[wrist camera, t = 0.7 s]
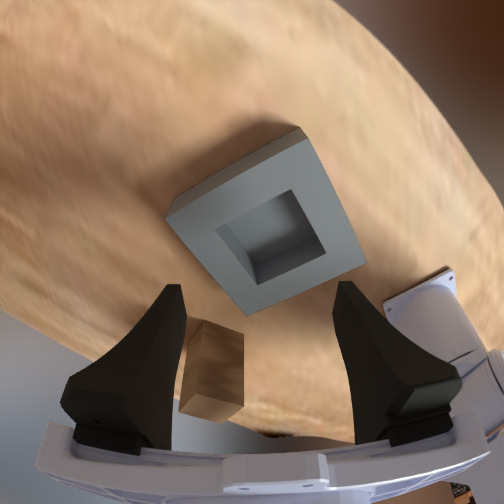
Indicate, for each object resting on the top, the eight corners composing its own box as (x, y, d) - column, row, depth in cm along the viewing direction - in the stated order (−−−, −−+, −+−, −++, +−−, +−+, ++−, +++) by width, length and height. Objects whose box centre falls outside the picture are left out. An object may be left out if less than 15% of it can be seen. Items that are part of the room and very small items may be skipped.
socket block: (355, 239, 24) (366, 262, 22) (246, 290, 27) (246, 316, 24) (299, 127, 19) (308, 137, 17) (173, 198, 22) (164, 219, 19)
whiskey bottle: (476, 439, 69) (497, 515, 42) (459, 451, 74) (477, 523, 48) (456, 446, 68) (477, 527, 41) (439, 457, 73) (457, 534, 47)
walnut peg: (243, 334, 30) (243, 406, 23) (225, 356, 32) (221, 423, 25) (204, 319, 29) (195, 393, 22) (188, 343, 31) (178, 412, 24)
